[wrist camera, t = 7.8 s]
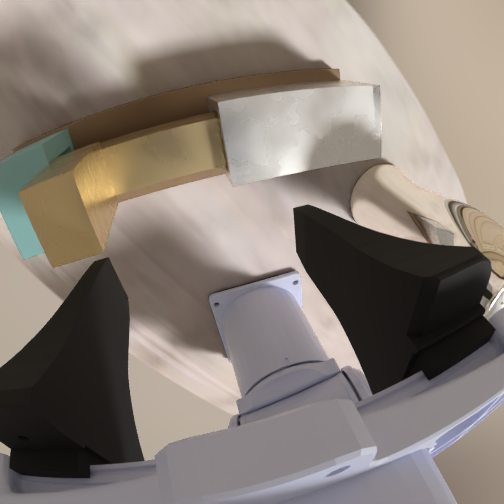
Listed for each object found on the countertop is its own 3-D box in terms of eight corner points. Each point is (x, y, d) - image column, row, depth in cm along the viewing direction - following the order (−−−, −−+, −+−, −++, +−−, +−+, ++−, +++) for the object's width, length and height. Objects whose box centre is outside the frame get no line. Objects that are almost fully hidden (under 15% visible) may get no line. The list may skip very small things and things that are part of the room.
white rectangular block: (344, 139, 21) (381, 157, 17) (218, 163, 19) (232, 186, 16) (340, 79, 18) (379, 85, 14) (206, 96, 17) (217, 102, 13)
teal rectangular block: (93, 207, 19) (78, 241, 15) (45, 224, 18) (23, 259, 14) (67, 128, 15) (42, 144, 12) (17, 150, 15) (-15, 172, 11)
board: (337, 146, 22) (344, 150, 21) (47, 221, 19) (43, 228, 18) (332, 68, 18) (339, 68, 18) (19, 146, 16) (13, 149, 15)
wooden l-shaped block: (259, 152, 19) (310, 198, 12) (58, 208, 17) (15, 280, 11) (251, 97, 17) (304, 113, 10) (40, 158, 15) (-20, 210, 9)
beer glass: (330, 216, 25) (453, 349, 13) (372, 143, 22) (532, 236, 10) (382, 241, 28) (488, 352, 16) (419, 180, 25) (546, 270, 13)
